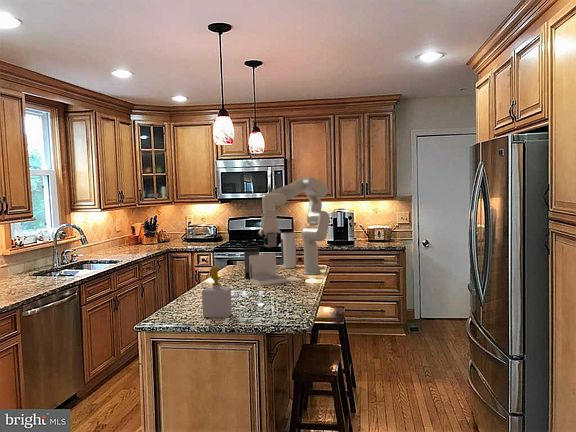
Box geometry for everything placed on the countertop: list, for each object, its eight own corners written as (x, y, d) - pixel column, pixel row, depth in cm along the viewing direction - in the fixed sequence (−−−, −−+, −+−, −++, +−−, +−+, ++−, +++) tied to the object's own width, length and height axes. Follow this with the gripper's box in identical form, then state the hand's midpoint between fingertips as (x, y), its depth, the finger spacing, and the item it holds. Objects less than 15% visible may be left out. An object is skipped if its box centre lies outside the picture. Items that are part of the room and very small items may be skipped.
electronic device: (260, 278, 319) (259, 247, 318) (259, 279, 313) (258, 248, 312) (246, 278, 320) (245, 247, 319) (244, 279, 314) (243, 248, 313)
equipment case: (276, 279, 312) (275, 252, 311) (287, 283, 299) (286, 255, 298) (250, 283, 303) (249, 255, 302) (260, 286, 291) (259, 258, 290)
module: (271, 245, 305) (271, 232, 304) (276, 246, 299) (276, 233, 298) (264, 246, 303) (263, 233, 302) (269, 247, 297) (268, 234, 296)
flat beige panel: (293, 277, 316) (293, 276, 316) (303, 280, 306) (303, 279, 306) (280, 279, 312) (279, 278, 312) (289, 282, 301) (289, 281, 301)
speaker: (282, 266, 363) (281, 231, 361) (296, 266, 362) (295, 230, 360) (281, 268, 352) (280, 232, 351) (295, 268, 351) (294, 232, 350)
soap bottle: (232, 314, 230) (230, 264, 228) (228, 318, 223) (226, 267, 222) (207, 314, 232) (205, 264, 230) (202, 317, 225) (200, 267, 224)
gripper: (278, 213, 307) (279, 242, 308) (253, 215, 299) (255, 245, 300) (284, 213, 300) (285, 243, 301) (259, 215, 292) (260, 246, 293)
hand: (270, 243), depth 301 cm, fingers closed on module, 5 cm apart
